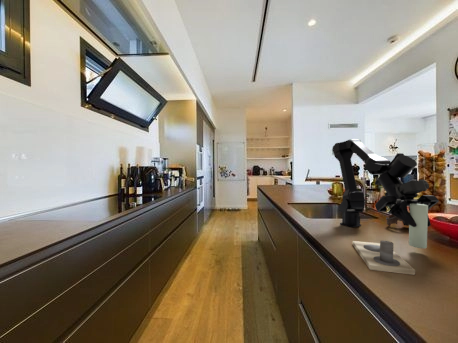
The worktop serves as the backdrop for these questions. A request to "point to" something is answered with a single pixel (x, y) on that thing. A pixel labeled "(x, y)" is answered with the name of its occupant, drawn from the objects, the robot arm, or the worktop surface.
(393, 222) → the dark brown curved piece
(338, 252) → the worktop surface
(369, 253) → the board
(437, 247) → the worktop surface
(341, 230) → the worktop surface
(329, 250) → the worktop surface
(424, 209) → the sage pin
